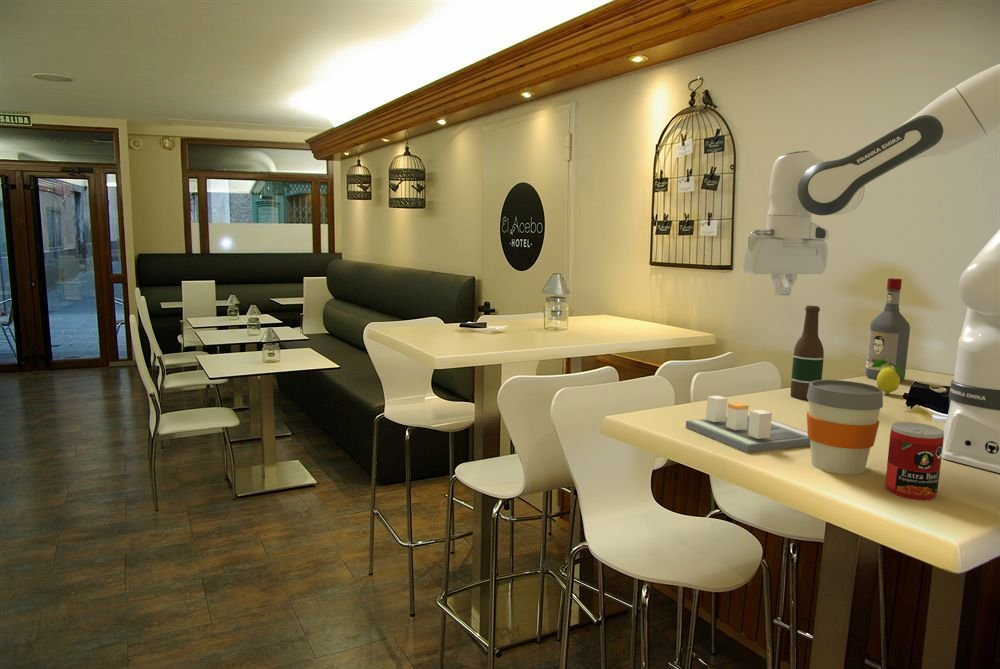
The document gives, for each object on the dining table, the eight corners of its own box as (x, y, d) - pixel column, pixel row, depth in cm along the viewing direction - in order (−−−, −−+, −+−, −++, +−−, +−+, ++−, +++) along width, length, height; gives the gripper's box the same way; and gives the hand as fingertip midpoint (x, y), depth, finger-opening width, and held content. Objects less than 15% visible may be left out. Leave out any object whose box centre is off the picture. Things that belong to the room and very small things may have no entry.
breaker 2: (769, 437, 144) (771, 412, 144) (758, 438, 143) (760, 414, 142) (759, 433, 147) (761, 409, 146) (748, 435, 146) (749, 410, 145)
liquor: (879, 374, 225) (889, 277, 221) (908, 380, 217) (919, 279, 213) (861, 376, 221) (870, 277, 216) (889, 382, 213) (900, 280, 208)
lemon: (868, 391, 200) (872, 355, 199) (889, 391, 200) (892, 355, 199) (882, 396, 193) (886, 359, 192) (903, 397, 194) (907, 360, 192)
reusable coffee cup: (856, 457, 140) (864, 380, 138) (889, 479, 127) (898, 395, 125) (790, 455, 140) (797, 378, 138) (817, 476, 128) (824, 393, 125)
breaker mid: (746, 428, 150) (748, 405, 150) (735, 430, 149) (737, 406, 148) (737, 425, 153) (739, 402, 152) (726, 426, 152) (727, 403, 151)
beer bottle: (826, 400, 187) (834, 308, 183) (796, 400, 187) (804, 307, 183) (813, 394, 195) (821, 304, 191) (784, 393, 195) (791, 304, 191)
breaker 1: (725, 421, 156) (727, 398, 155) (714, 422, 155) (716, 399, 154) (717, 417, 159) (718, 395, 158) (706, 418, 158) (707, 396, 157)
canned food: (894, 498, 118) (901, 432, 116) (877, 482, 126) (883, 420, 124) (945, 502, 117) (953, 436, 115) (925, 485, 125) (932, 423, 123)
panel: (820, 443, 148) (821, 436, 148) (747, 453, 140) (747, 445, 140) (754, 420, 165) (754, 413, 165) (685, 427, 158) (686, 420, 158)
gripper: (760, 229, 148) (755, 297, 150) (835, 231, 156) (829, 295, 158) (739, 228, 153) (734, 294, 155) (812, 231, 161) (806, 293, 163)
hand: (782, 295), depth 157 cm, fingers closed
